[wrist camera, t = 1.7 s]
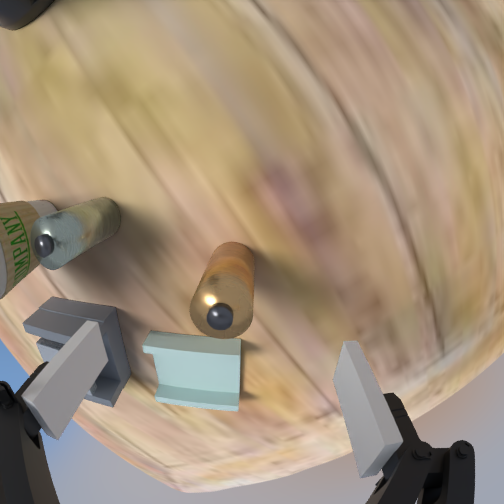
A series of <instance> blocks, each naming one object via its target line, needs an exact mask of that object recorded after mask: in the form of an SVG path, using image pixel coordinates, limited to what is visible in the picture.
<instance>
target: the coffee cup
mask: <svg viewBox="0 0 504 504" xmlns="http://www.w3.org/2000/svg"><path fill="white" fill-rule="evenodd" d="M54 212H57V209H56V208H55V207H54V205H53V204H51V203H50V202H49V201H46V200H37V201H28V202H25V201H16V202H7V203H0V299H2V298H3V297H4V296H5V295H6V294H7V293H8V292H9V291H10V290H12V289H13V288H14V287H15V286H16V285H17V284H18V283H19V282H20V281H21V280H22V279H23V278H25V277H26V276H27V275H28V274H29V273H30V272H31V271H33V270H34V269H35V268H36V267H37V266H38V265H39V264H40V262H39V261H38V260H37V258H36V257H35V255H34V253H33V250H32V246H31V240H30V234H31V228H32V226H33V224H34V222H35V221H36V220H37V219H38V218H40V217H43V216H46V215H49V214H51V213H54Z"/></svg>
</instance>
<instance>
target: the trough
mask: <svg viewBox="0 0 504 504" xmlns="http://www.w3.org/2000/svg"><path fill="white" fill-rule="evenodd" d="M142 346H143V351H144V353H149V354H153V357H154V362H155V367H156V372H157V376H158V381H159V386H158V389H157V391H156V394H155V399H156V401H157V402H162V403H168V404H175V405H182V406H189V407H197V408H205V409H216V410H227V411H238V408H239V393H240V357H241V339H234V338H230V339H217V338H213V337H206V336H195V335H185V334H175V333H167V332H158V331H150V333H149V334H148V336H147V338H146V340H145V341H144V343H143V345H142Z"/></svg>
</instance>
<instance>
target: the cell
mask: <svg viewBox="0 0 504 504" xmlns="http://www.w3.org/2000/svg"><path fill="white" fill-rule="evenodd" d="M253 297H254V257H253V255H252V253H251V251H250V250H249V249H248V248H247V247H246V246H244V245H243V244H240V243H237V242H227V243H224V244H222V245H220V246H219V247H218V248H217V249H216V250H215V251H214V253H213V255H212V257H211V259H210V261H209V263H208V265H207V268H206V270H205V272H204V274H203V276H202V279H201V281H200V283H199V285H198V287H197V290H196V292H195V294H194V296H193V299H192V301H191V304H190V316H191V319H192V321H193V323H194V324H195V326H196V327H197V328H198V329H199V330H200V331H201V332H203V333H204V334H206V335H208V336H210V337H213V338H217V339H230V338H234V337H237V336H239V335H241V334H243V333H244V332H245V331H246V330H247V329H248V328H249V326H250V324H251V322H252V319H253Z"/></svg>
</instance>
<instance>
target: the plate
mask: <svg viewBox="0 0 504 504" xmlns="http://www.w3.org/2000/svg"><path fill="white" fill-rule="evenodd" d="M36 344H37V346H38V349H39V351H40V354H41V356H42V358H43V361H44V362H46V361H48V362H50V361H51V359H52V358H53V357H54V356H55V355H56V354H57V353H58V352H59V350H60V349H61V348H62V347H63V346H64V345H65V344H62V343H59V342H55V341H52V340H49V339H45V338H42V337H41V338H40V339H39V340H38V342H37V343H36ZM96 389H97V385H96V383H95V382H94V383H93V385H92V386H91V388H90V389H89V391H88V392H87V394H88V395H91V396H92V395H93V394H94V392H95V390H96Z"/></svg>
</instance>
